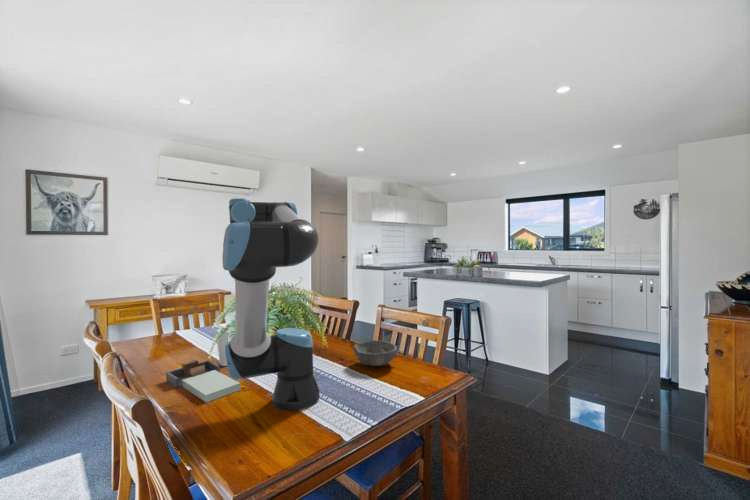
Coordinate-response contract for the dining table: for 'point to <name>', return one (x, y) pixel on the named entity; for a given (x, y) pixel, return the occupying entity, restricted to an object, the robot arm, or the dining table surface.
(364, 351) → the bowl
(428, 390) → the dining table surface
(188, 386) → the board
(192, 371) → the tile
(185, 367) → the tile
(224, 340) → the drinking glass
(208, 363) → the tray
